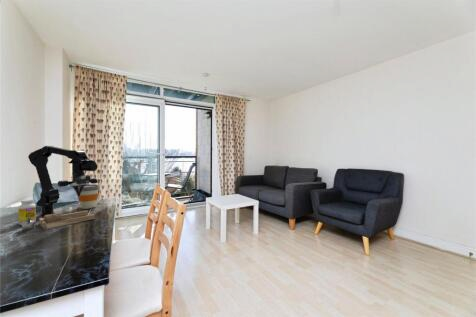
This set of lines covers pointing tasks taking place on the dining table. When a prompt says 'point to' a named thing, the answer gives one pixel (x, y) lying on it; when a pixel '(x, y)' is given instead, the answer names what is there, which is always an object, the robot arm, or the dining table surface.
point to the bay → (68, 221)
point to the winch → (27, 224)
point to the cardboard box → (53, 218)
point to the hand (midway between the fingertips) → (78, 196)
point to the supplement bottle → (27, 210)
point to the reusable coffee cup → (88, 196)
